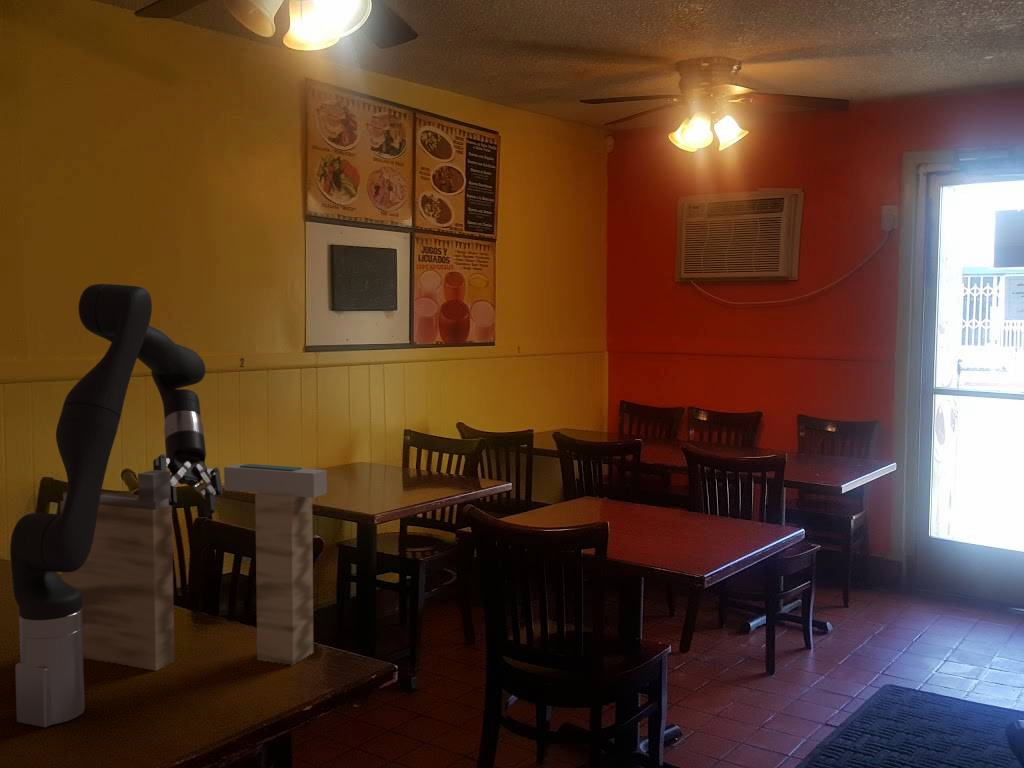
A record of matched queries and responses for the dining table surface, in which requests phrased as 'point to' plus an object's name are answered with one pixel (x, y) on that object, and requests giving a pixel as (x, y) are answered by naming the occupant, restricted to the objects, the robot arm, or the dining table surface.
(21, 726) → the dining table surface
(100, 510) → the rail post
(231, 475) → the block
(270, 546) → the stand
